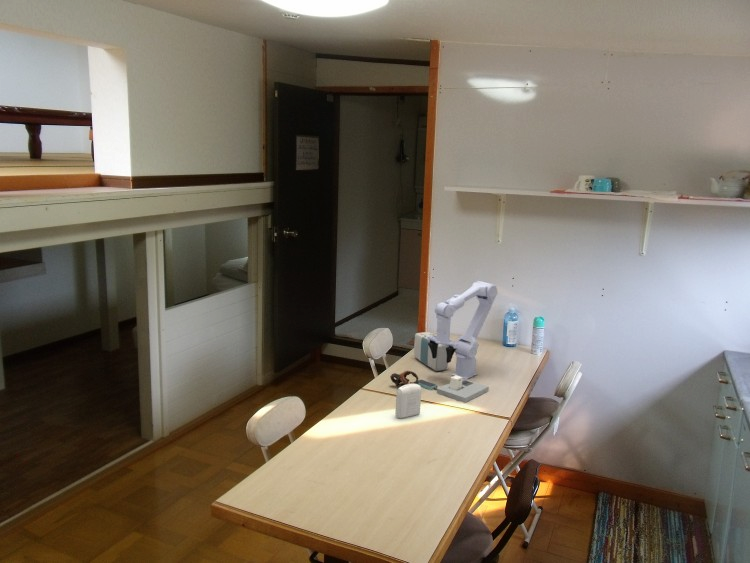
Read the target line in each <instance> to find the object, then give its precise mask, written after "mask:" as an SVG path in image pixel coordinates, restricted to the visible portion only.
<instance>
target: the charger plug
mask: <svg viewBox="0 0 750 563" xmlns="http://www.w3.org/2000/svg"><path fill="white" fill-rule="evenodd" d="M449 383H450V388H451V389H454V390H457V391H458V390H461V389H462V377H460V376H457V375H455V376H453V375H452V376H451V377H450V381H449Z"/></svg>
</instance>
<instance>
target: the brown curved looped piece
mask: <svg viewBox="0 0 750 563" xmlns="http://www.w3.org/2000/svg"><path fill="white" fill-rule="evenodd" d="M410 375H412V377H414V378H415V381H412V382H411V381H410V379H409V378H407V376H410ZM390 380H391V382H392V383H394V384H395V386H398V385H399V384H403V386H404V385H407V384H418V380H419V376H418V374H417V373H415V372H414V371H412V370H404V371H403V372H401V373H392V374H391V375H390Z"/></svg>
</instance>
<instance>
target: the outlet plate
mask: <svg viewBox="0 0 750 563" xmlns="http://www.w3.org/2000/svg"><path fill="white" fill-rule="evenodd" d="M489 390H490V388H489V386H488V385H485V384H481V383H479V382H475V381H471V380H469V379H463V378H462V389H461V390H458V391H457V390H454V389H451V388H450V382H449V383H446V384H445V385H442V386H440V387H438V388H437V390H436V394H437V395H438V394H439V395H441V396H444V397H447V398H450V399H454V400H456V401H459V402H462V403H464V404H465V403H467V402H469V401H472V400H474V399H475V398H477V397H479V396H481V395H483V394H486V393H487V392H489Z"/></svg>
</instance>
